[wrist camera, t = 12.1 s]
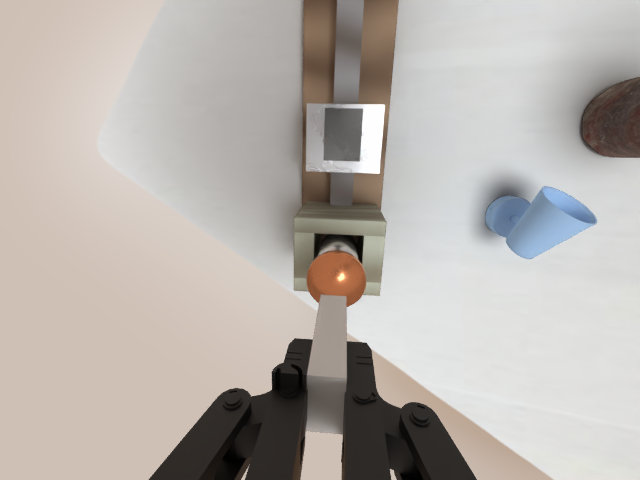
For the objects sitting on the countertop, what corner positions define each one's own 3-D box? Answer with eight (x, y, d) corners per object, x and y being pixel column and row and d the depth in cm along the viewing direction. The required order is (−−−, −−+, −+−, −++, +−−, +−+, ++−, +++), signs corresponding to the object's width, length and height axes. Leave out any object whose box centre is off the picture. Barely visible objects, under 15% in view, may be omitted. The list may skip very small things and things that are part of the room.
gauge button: (316, 225, 29) (306, 252, 22) (362, 227, 29) (368, 255, 21) (315, 268, 30) (306, 306, 23) (359, 270, 30) (364, 310, 23)
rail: (305, -31, 29) (286, -117, 20) (399, -33, 29) (426, -123, 19) (303, 258, 38) (288, 295, 29) (374, 262, 37) (384, 300, 28)
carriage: (309, 107, 30) (288, 82, 19) (381, 108, 29) (403, 84, 18) (308, 169, 31) (289, 180, 20) (376, 171, 31) (393, 184, 20)
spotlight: (505, 174, 33) (472, 230, 35) (568, 185, 24) (519, 260, 26) (545, 191, 33) (510, 246, 36) (624, 209, 24) (571, 282, 26)
